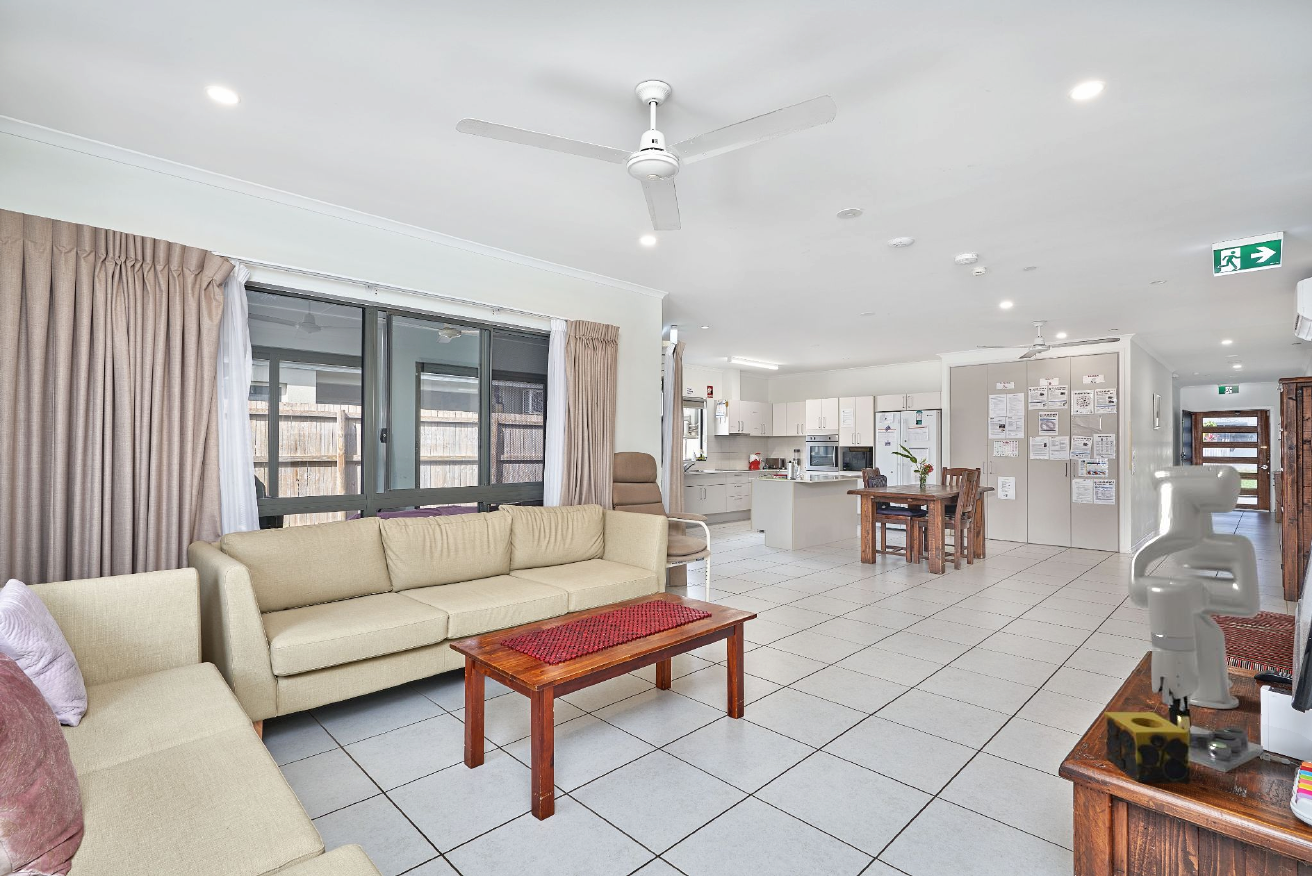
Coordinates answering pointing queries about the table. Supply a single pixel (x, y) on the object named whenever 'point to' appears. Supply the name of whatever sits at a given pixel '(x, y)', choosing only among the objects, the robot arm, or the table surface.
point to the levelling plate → (1221, 765)
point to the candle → (1147, 747)
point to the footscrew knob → (1209, 736)
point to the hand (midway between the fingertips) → (1180, 726)
